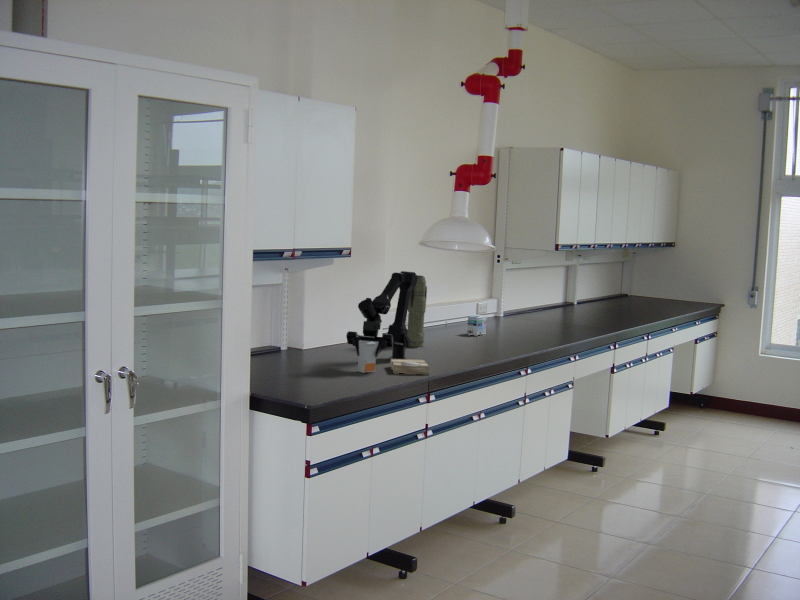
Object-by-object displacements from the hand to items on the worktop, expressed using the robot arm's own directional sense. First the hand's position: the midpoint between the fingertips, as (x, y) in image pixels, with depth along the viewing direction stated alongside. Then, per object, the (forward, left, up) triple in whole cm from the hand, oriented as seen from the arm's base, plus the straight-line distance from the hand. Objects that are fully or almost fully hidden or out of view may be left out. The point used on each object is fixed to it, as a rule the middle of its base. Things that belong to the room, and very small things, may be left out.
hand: (366, 356), depth 300 cm
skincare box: (-1, 0, -7) cm, 7 cm away
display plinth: (-5, +18, -7) cm, 20 cm away
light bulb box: (-108, +72, -7) cm, 130 cm away
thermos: (-65, +30, -7) cm, 72 cm away
